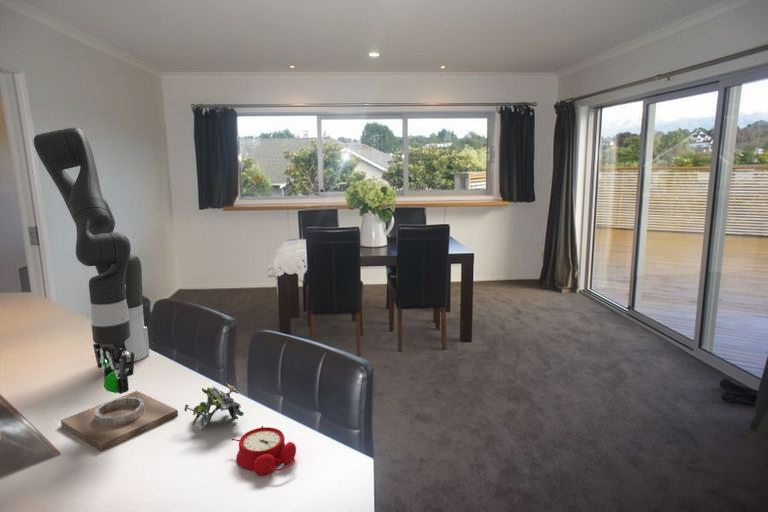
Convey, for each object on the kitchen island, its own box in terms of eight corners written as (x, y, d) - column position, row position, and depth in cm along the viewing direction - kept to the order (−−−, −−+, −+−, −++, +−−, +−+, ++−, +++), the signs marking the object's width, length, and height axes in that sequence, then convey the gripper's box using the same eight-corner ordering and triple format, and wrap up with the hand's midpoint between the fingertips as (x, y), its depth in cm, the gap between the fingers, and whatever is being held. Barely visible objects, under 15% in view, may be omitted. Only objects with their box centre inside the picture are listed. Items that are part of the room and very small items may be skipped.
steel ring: (130, 400, 119) (129, 393, 118) (152, 412, 113) (152, 404, 113) (87, 417, 110) (86, 409, 110) (109, 430, 105) (108, 422, 105)
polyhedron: (129, 393, 110) (127, 373, 109) (105, 398, 107) (103, 378, 106) (128, 385, 114) (126, 366, 113) (104, 389, 111) (102, 370, 111)
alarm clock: (266, 420, 106) (305, 431, 96) (271, 447, 106) (310, 461, 96) (223, 438, 99) (260, 452, 88) (228, 467, 99) (265, 485, 88)
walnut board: (137, 396, 124) (136, 390, 124) (178, 415, 115) (177, 409, 114) (61, 426, 109) (60, 420, 109) (100, 451, 100) (100, 444, 100)
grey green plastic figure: (233, 438, 115) (256, 406, 111) (193, 451, 106) (217, 417, 102) (213, 401, 120) (234, 370, 116) (173, 411, 111) (195, 377, 107)
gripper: (143, 321, 107) (149, 391, 110) (111, 310, 115) (117, 376, 118) (109, 330, 101) (116, 404, 104) (77, 318, 108) (84, 387, 111)
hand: (116, 388), depth 111 cm, fingers closed on polyhedron, 5 cm apart
